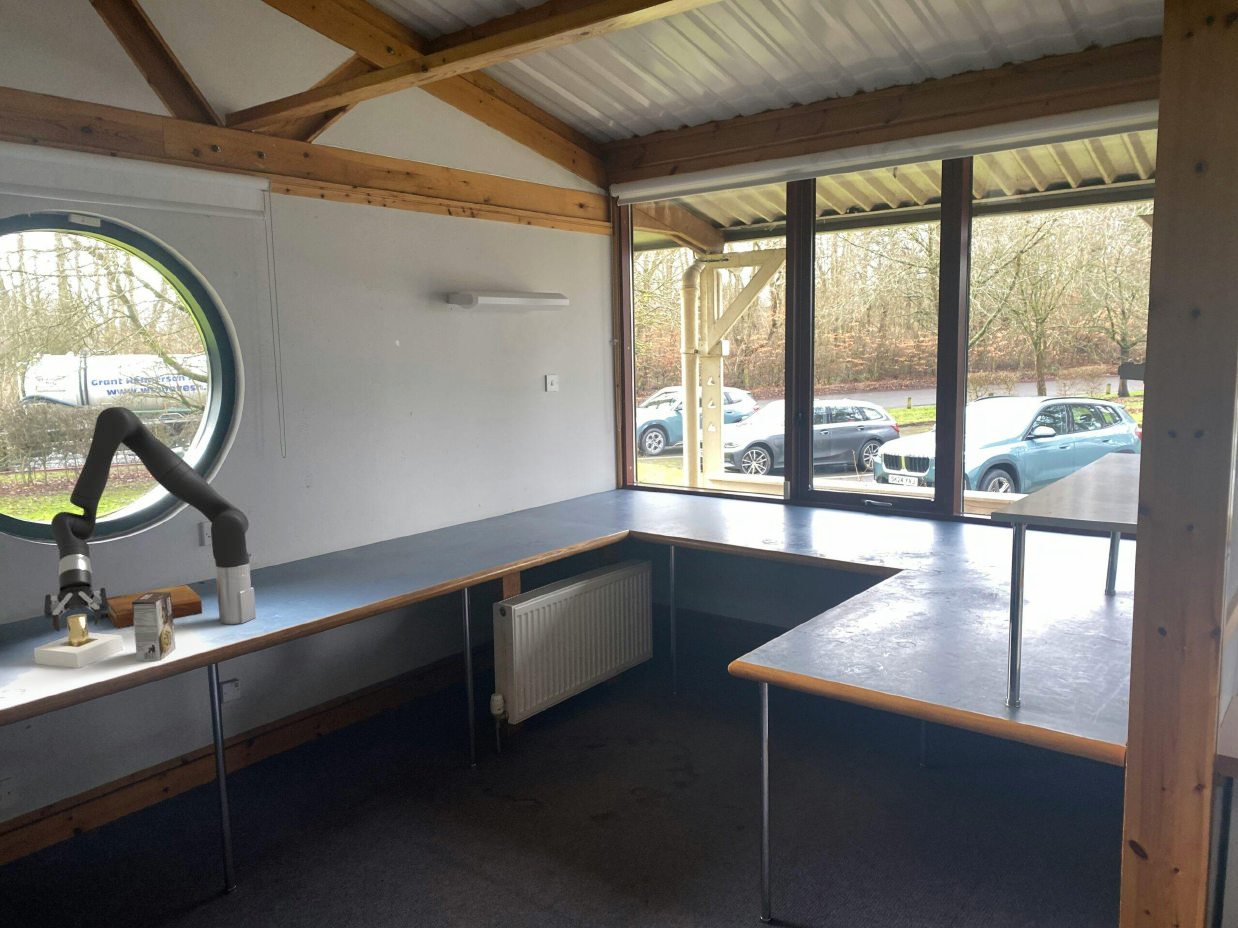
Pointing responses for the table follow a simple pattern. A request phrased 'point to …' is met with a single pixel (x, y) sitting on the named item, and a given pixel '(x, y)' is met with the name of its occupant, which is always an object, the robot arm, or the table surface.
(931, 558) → the table surface
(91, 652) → the socket
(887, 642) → the table surface
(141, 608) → the coffee box
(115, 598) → the brown wooden box
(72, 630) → the peg
